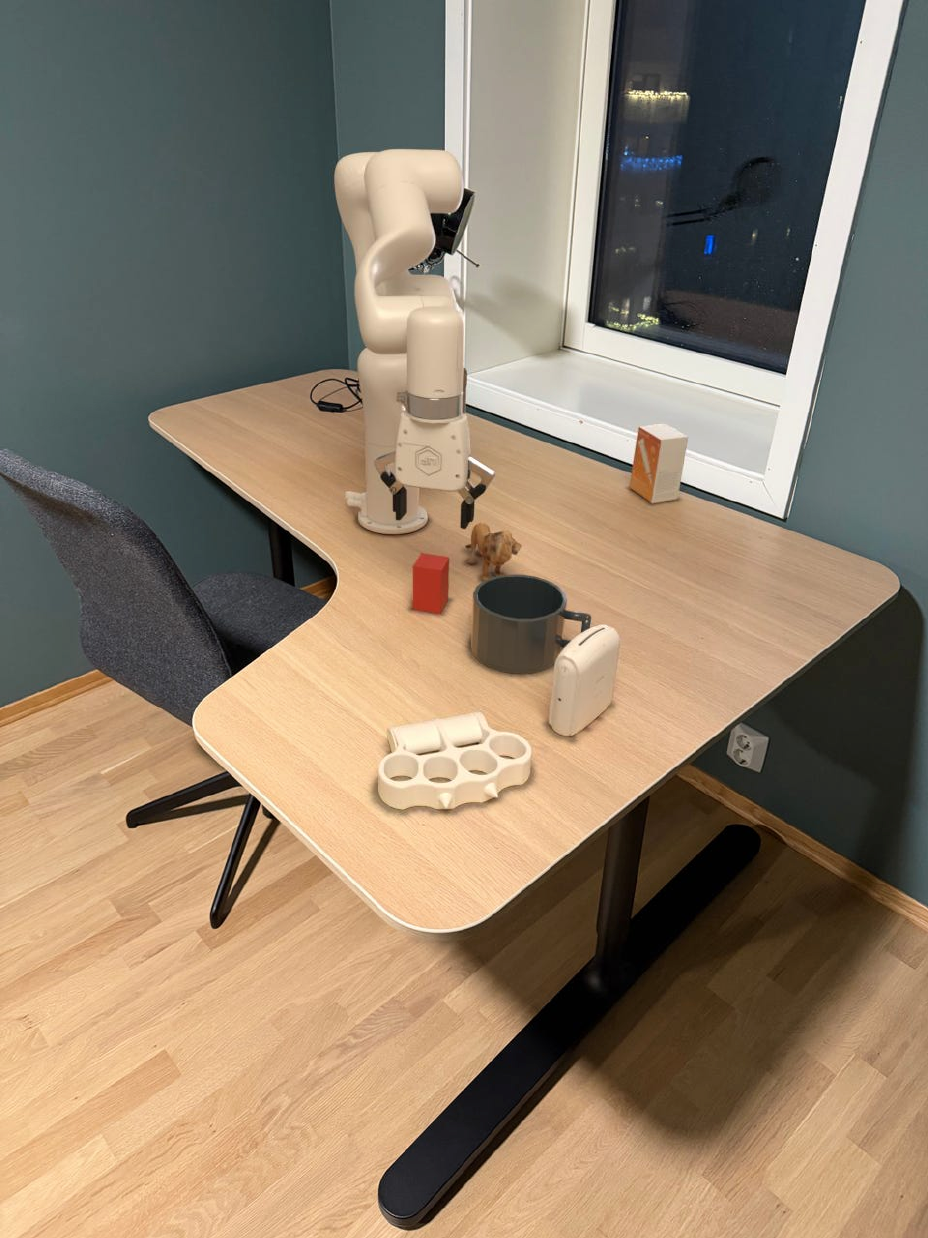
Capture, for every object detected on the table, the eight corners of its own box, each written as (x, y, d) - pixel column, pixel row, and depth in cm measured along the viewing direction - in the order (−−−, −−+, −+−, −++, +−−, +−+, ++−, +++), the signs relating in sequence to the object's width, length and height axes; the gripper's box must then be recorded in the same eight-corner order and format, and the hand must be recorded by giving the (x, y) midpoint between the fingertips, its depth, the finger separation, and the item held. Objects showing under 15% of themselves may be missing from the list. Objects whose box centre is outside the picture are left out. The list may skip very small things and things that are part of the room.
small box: (628, 488, 176) (637, 425, 170) (655, 484, 179) (665, 422, 172) (651, 504, 170) (661, 439, 163) (678, 499, 172) (689, 436, 166)
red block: (412, 609, 133) (412, 565, 129) (420, 595, 137) (421, 552, 133) (440, 614, 132) (441, 570, 128) (448, 600, 136) (449, 556, 132)
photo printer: (571, 742, 107) (581, 658, 101) (542, 727, 110) (551, 644, 103) (615, 705, 114) (628, 624, 108) (588, 691, 117) (598, 611, 110)
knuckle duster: (501, 720, 111) (547, 798, 99) (360, 747, 105) (392, 832, 94) (502, 699, 109) (549, 775, 97) (360, 724, 104) (391, 808, 92)
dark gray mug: (461, 665, 121) (463, 612, 116) (482, 618, 132) (485, 568, 127) (579, 685, 118) (586, 632, 113) (591, 636, 128) (598, 585, 124)
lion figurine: (522, 584, 141) (526, 534, 136) (493, 591, 139) (497, 540, 134) (478, 547, 152) (480, 498, 147) (451, 552, 150) (452, 504, 145)
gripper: (364, 405, 117) (367, 523, 126) (491, 419, 113) (485, 539, 122) (382, 390, 123) (384, 503, 132) (503, 403, 120) (497, 518, 128)
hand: (433, 521), depth 127 cm, fingers open, 9 cm apart
